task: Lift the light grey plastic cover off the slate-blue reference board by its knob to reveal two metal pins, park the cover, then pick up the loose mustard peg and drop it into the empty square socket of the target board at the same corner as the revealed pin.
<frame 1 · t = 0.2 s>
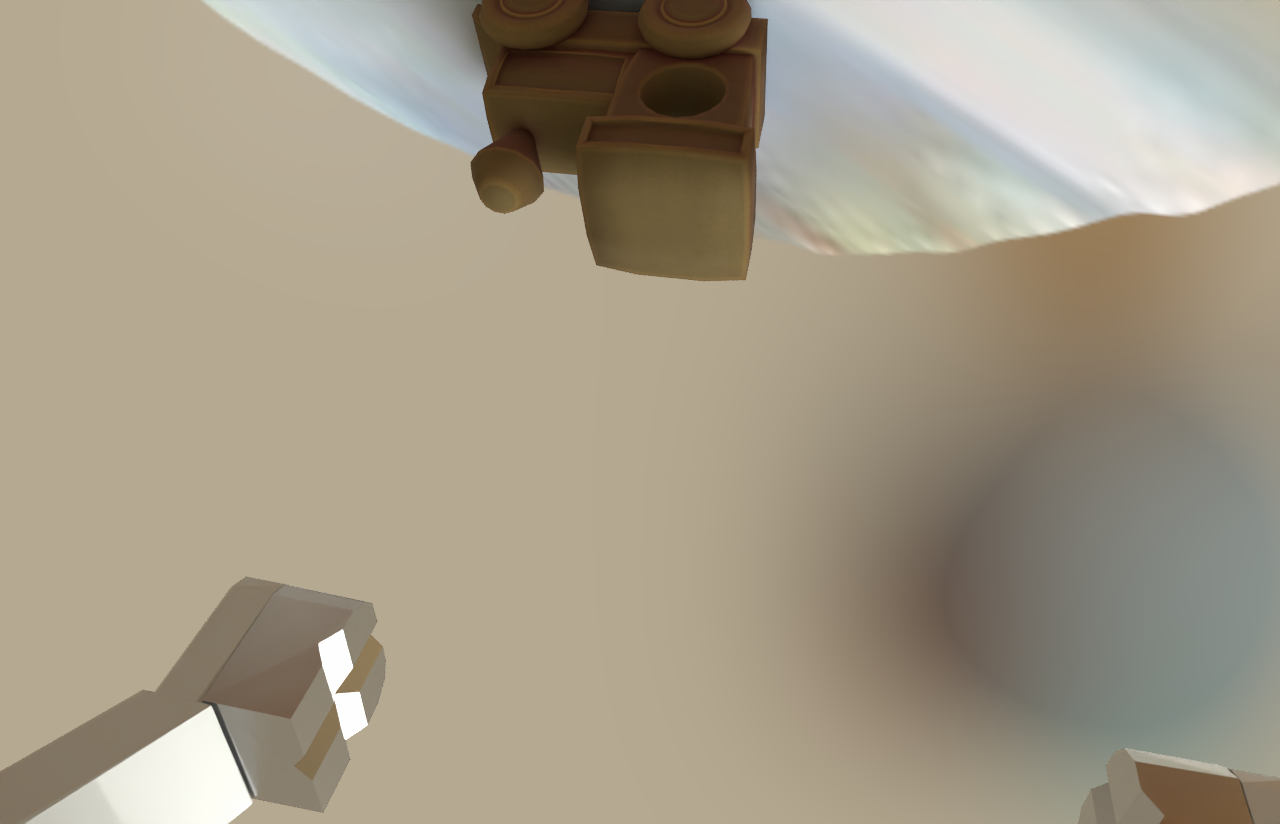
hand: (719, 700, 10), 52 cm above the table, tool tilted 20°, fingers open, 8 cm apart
wooden toy train: (638, 38, 65), on the table
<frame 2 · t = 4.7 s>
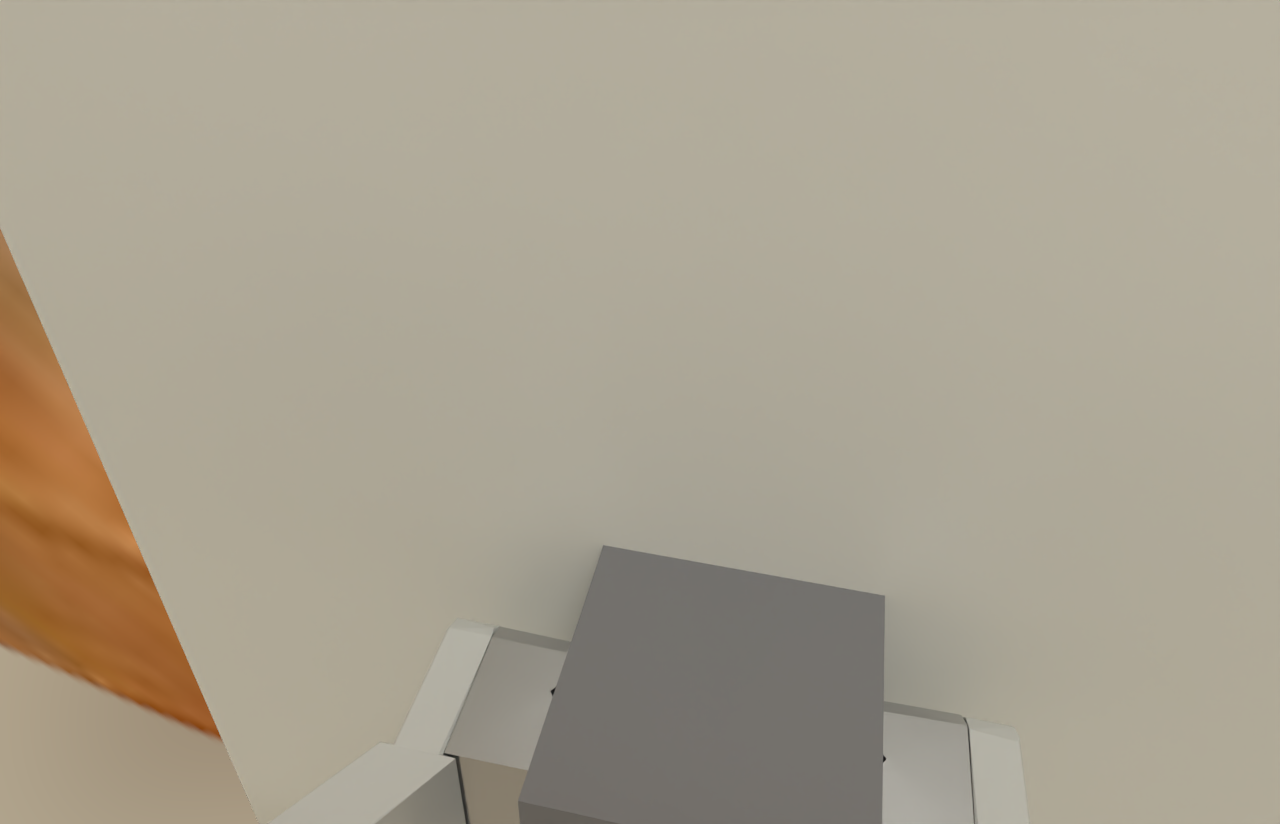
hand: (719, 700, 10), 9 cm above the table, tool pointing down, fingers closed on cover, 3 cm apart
cover: (788, 301, 17), on the table, touching gripper
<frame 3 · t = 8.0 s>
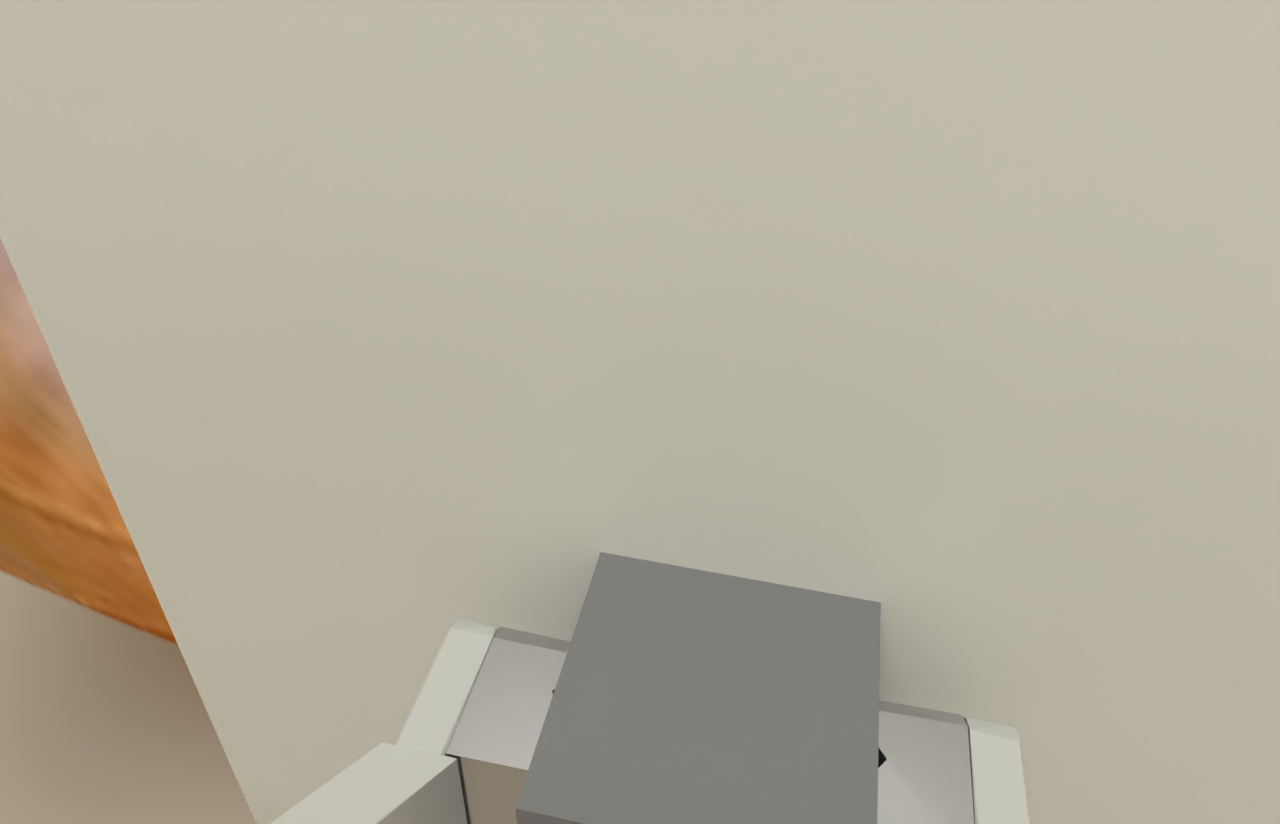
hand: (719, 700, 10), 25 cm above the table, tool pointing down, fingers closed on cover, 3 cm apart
cover: (786, 306, 17), point 16 cm above the table, touching gripper
when the fingers open (10 cm above the table, at t = 11.3 s): cover stays where it is, on the table.
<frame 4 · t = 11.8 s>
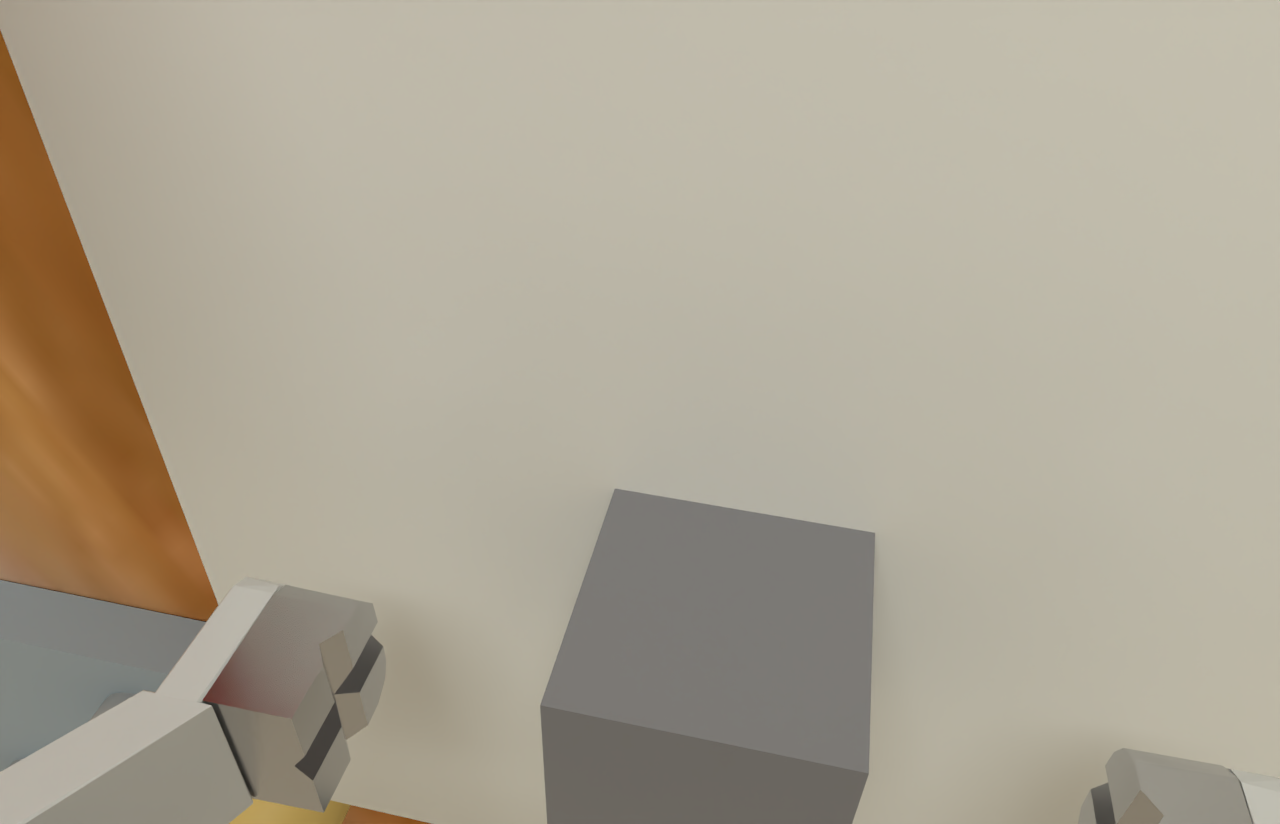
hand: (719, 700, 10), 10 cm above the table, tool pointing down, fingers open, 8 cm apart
reference board: (132, 705, 34), on the table
peg: (368, 654, 29), on the table
cover: (787, 277, 18), on the table
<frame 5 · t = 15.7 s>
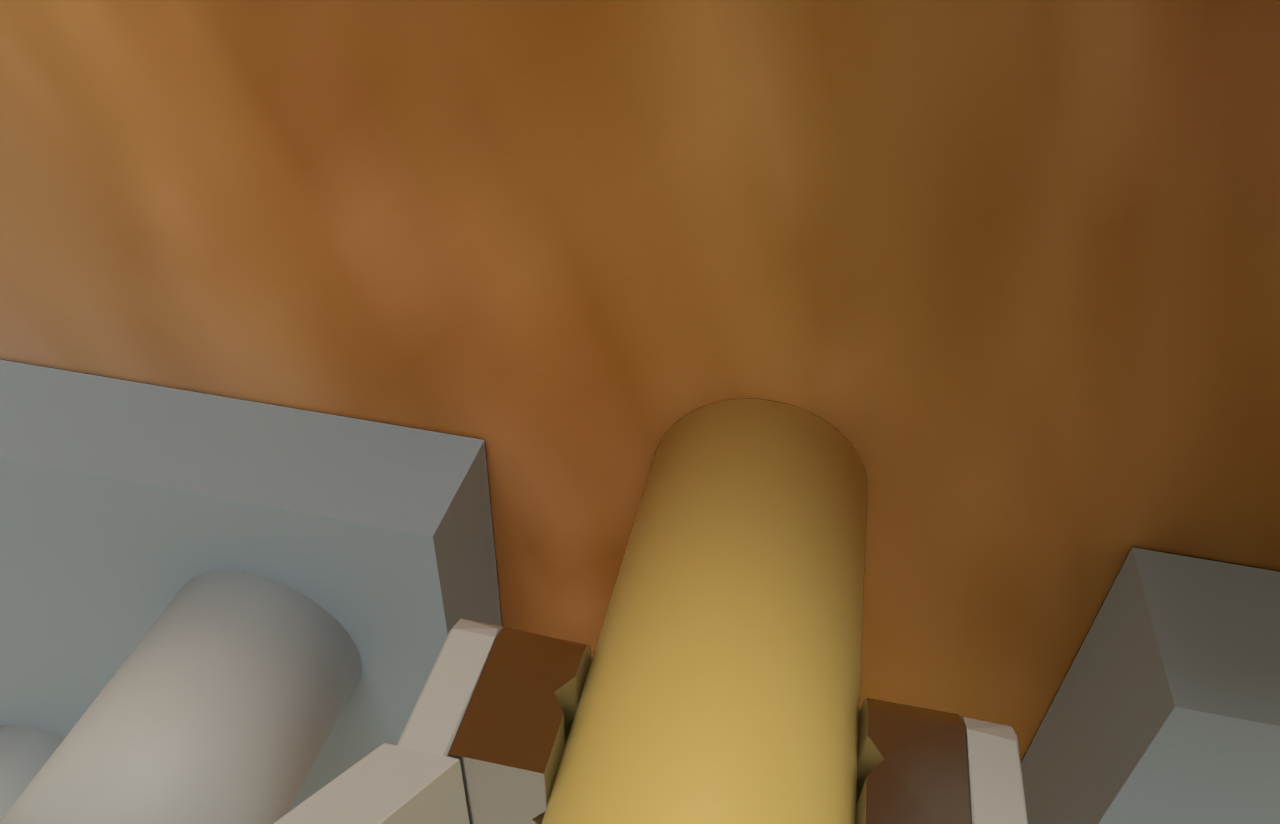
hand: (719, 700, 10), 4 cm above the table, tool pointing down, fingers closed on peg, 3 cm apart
reference board: (213, 625, 18), on the table
peg: (757, 484, 13), on the table, touching gripper
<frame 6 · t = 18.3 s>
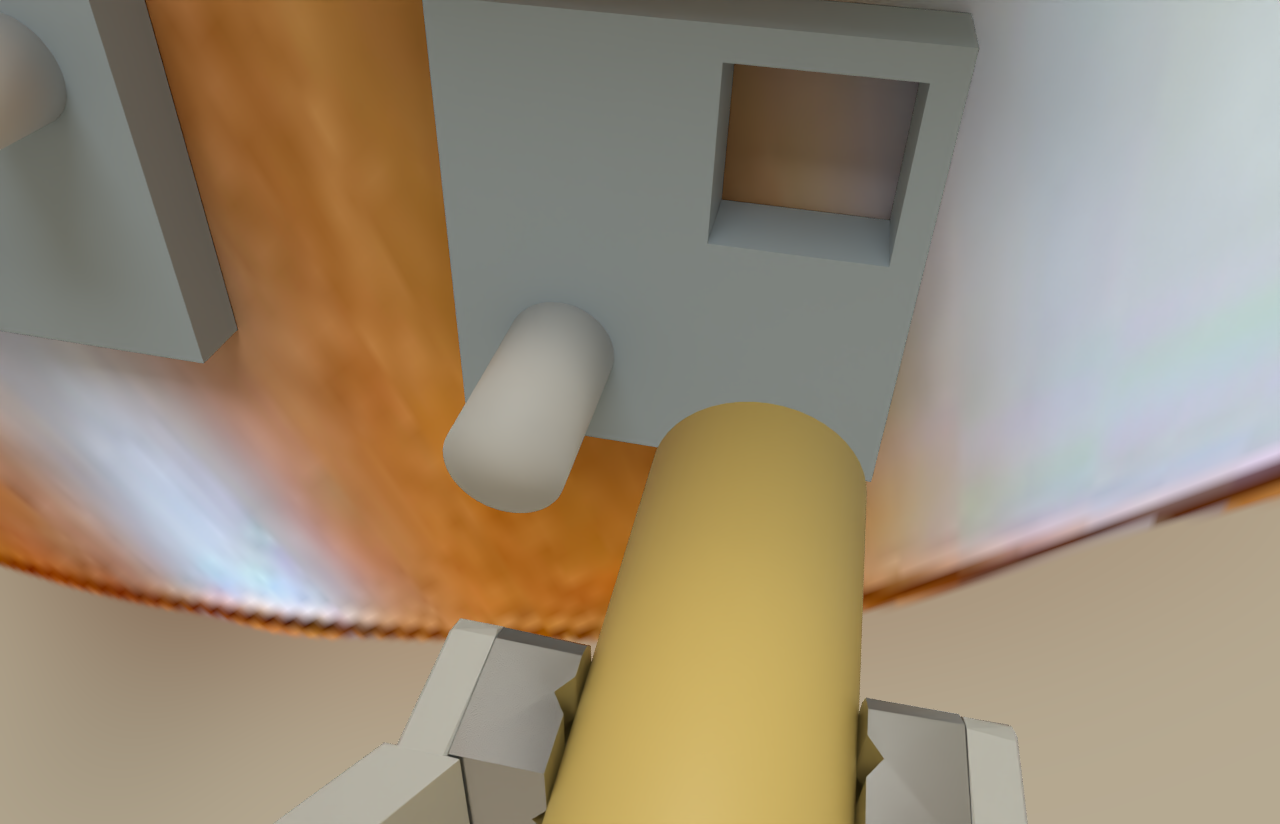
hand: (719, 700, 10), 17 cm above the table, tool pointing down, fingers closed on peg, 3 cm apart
reference board: (10, 137, 29), on the table
peg: (756, 487, 13), point 13 cm above the table, touching gripper
target board: (690, 223, 26), on the table
when the fingers open (5 cm above the table, at t = 21.2 s): peg drops 1 cm, resting in target board.
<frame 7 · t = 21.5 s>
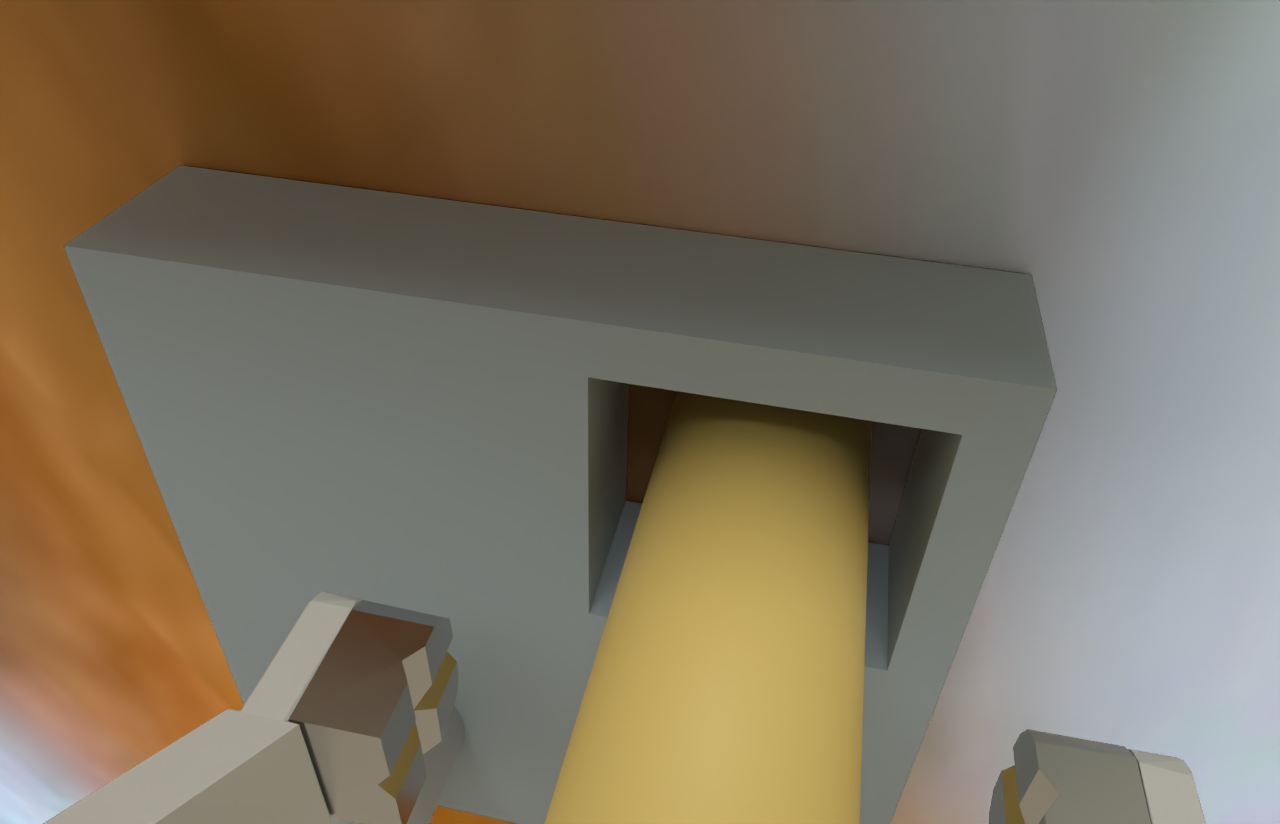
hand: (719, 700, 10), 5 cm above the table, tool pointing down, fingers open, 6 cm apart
peg: (770, 421, 14), resting in target board
target board: (580, 525, 17), on the table
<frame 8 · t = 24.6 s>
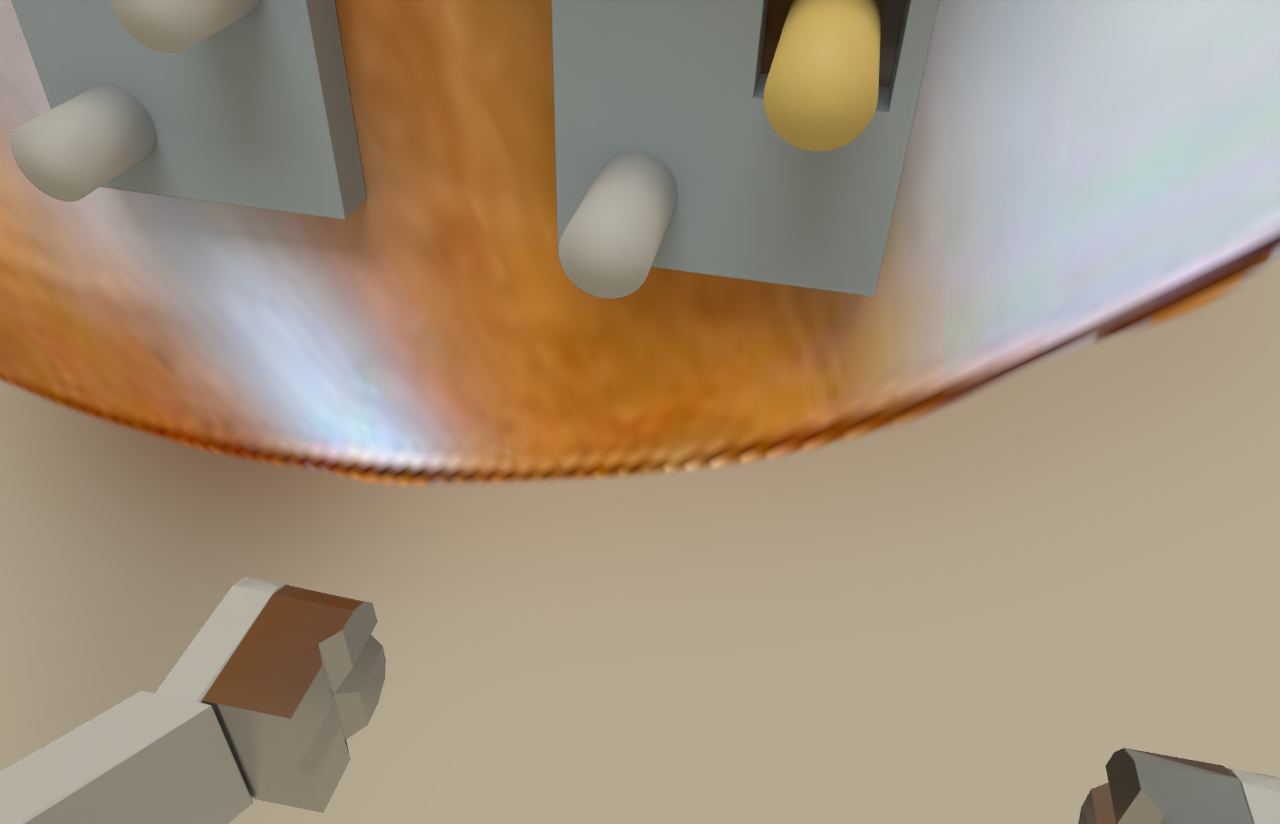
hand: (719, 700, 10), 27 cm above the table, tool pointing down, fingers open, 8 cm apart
reference board: (198, 36, 37), on the table
peg: (834, 13, 31), resting in target board
target board: (736, 93, 34), on the table
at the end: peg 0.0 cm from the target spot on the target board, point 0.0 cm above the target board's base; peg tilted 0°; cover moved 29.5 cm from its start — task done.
